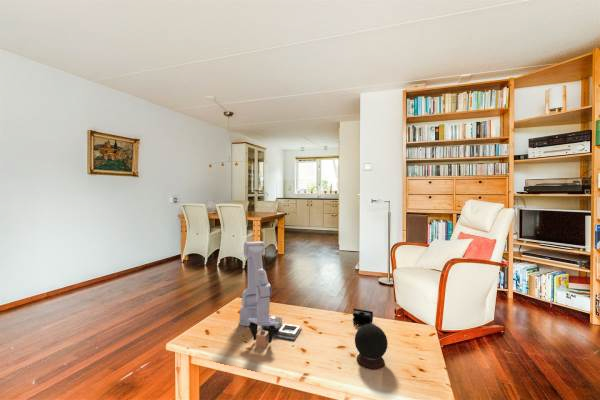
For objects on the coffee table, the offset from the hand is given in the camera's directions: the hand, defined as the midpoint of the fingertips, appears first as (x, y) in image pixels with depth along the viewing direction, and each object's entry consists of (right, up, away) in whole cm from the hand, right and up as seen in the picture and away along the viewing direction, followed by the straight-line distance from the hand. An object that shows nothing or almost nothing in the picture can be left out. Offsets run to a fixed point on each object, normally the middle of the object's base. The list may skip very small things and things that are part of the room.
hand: (262, 340), depth 132 cm
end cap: (+51, -2, +23) cm, 56 cm away
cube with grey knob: (0, -2, 0) cm, 2 cm away
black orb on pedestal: (+46, -3, -13) cm, 48 cm away
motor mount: (+7, -1, +12) cm, 13 cm away
